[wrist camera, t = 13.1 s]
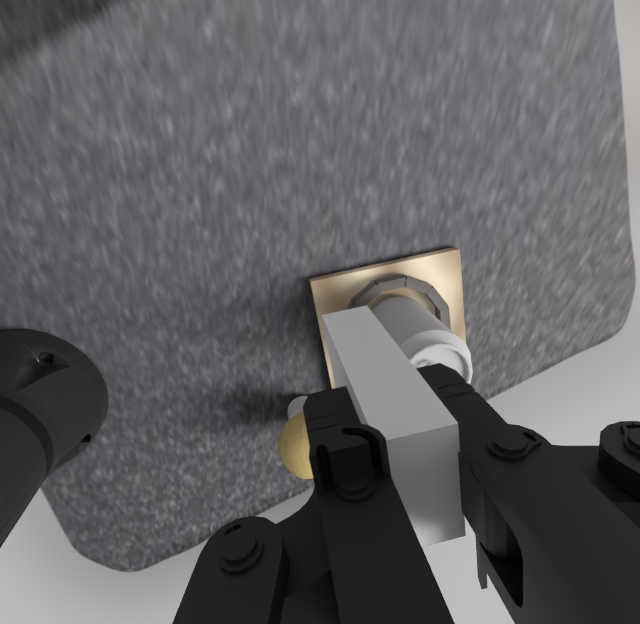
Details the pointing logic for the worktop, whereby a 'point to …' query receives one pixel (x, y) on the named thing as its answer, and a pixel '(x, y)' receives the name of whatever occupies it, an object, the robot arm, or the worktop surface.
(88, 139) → the worktop surface
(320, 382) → the worktop surface
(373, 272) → the board
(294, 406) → the light bulb
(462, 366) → the can
